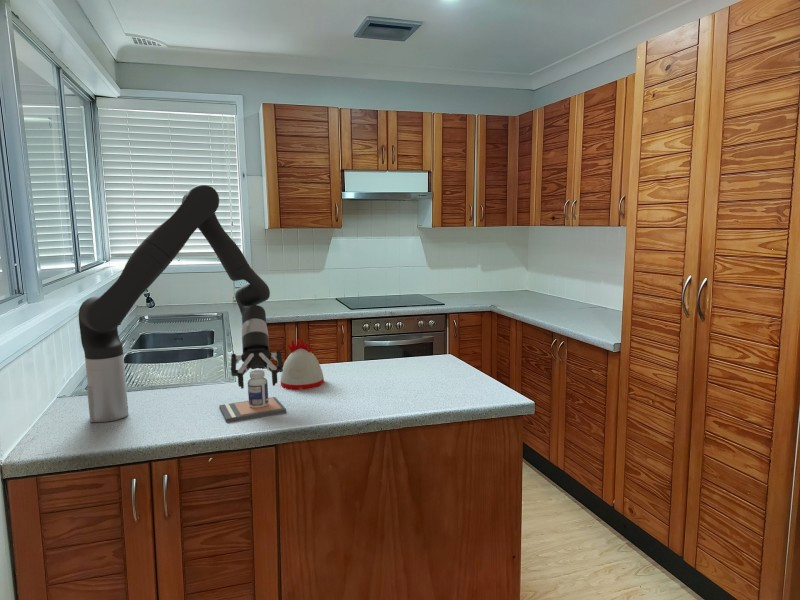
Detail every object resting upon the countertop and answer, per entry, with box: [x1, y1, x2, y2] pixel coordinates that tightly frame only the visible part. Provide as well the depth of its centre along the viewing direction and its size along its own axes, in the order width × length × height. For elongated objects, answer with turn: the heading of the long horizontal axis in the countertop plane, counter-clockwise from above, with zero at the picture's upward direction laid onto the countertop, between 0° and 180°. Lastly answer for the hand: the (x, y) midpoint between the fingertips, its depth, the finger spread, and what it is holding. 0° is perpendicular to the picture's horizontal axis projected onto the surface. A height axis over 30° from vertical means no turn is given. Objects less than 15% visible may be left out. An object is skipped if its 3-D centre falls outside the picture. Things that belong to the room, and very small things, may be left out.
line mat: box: [218, 396, 287, 423], centre depth 156 cm, size 16×13×1 cm
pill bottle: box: [247, 369, 269, 408], centre depth 156 cm, size 5×5×10 cm
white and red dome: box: [280, 338, 325, 391], centre depth 182 cm, size 14×14×15 cm
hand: (258, 385), depth 155 cm, fingers open, 8 cm apart
